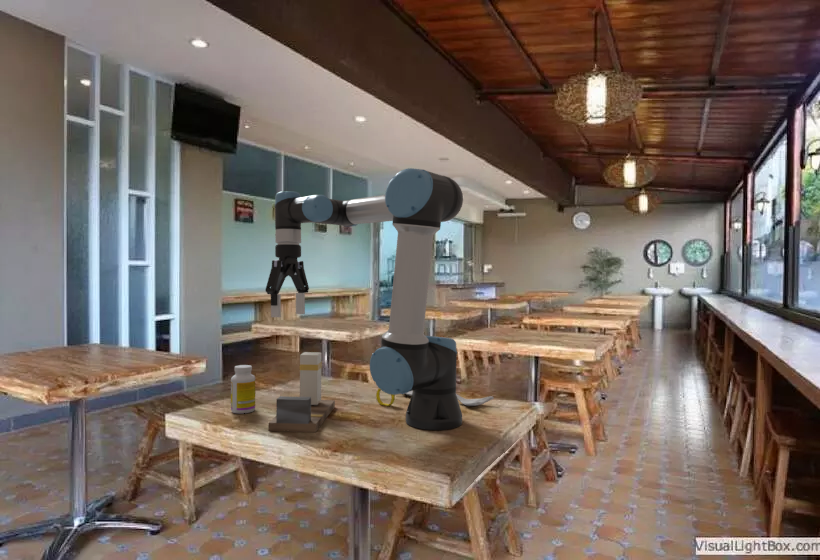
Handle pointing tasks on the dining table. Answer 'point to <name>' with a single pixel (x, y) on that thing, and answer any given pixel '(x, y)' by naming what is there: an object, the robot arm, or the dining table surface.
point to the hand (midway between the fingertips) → (288, 315)
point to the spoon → (467, 400)
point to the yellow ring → (381, 401)
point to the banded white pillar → (310, 376)
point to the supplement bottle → (243, 390)
